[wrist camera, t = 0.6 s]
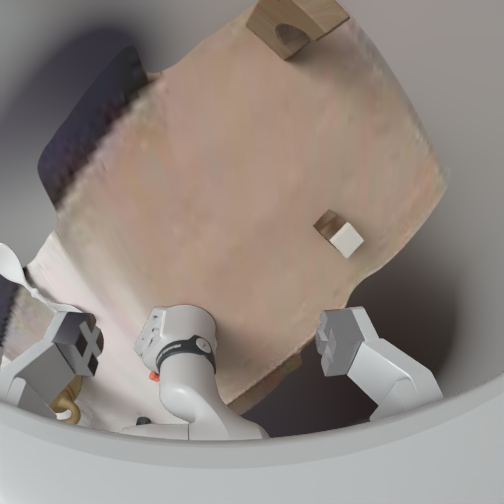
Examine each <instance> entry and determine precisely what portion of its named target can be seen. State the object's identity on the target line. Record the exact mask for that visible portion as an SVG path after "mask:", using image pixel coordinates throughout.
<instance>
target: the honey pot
mask: <svg viewBox="0 0 504 504" xmlns="http://www.w3.org/2000/svg"><path fill="white" fill-rule="evenodd" d="M74 403H75V404H77V406H78V407H79V409H80V412H81V418H80V421H79V422H78V424H77V425H80V426H84V427H89V428H90V427H91V423H92V418H93V411H92V410H91V408H90V407H89V406H87V405H86V404H85V403H83V402H81V401H79V400H77V399H76V400H75V401H74ZM56 415H57V419H59V420H63V419H68V418H69V417H70V416H71V411H70V410H69V409H68V410H67V411H65V412H63V413H56Z"/></svg>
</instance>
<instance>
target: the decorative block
mask: <svg viewBox="0 0 504 504" xmlns="http://www.w3.org/2000/svg"><path fill="white" fill-rule="evenodd" d="M349 19H350V16H349V15H348V14H347V13H346V12H345V11H344V9H343V8H342V7H341V6H340V5H339V4H338V3H337V2H336V1H335V0H259V1H258V3H257V4H256V6H255V8H254V9H253V11H252V13H251V15H250V17H249V18H248V20H247V22H246V26H247V27H248V28H249V29H250V30H251V31H253V32H254V33H255V34H256V35H257V36H258V37H259V38H260V39H262V40H263V41H264V42H265V43H266V44H267V45H268V46H269V47H270V48H271V49H273V50H274V51H275V52H276V53H277V54H278V55H279V56H280V57H281V58H282V59H283V60H287V59H289V58H290V57H292V56H293V55H295V54H296V53H297V52H298V51H299V50H301V49H302V48H303V47H304V46H306V45H307V44H308V43H310V39H309V38H308V37H307V36H306V34H307V35H308V36H309V37H311V38H312V39H313V40H316V41H318V40H319V39H321V38H323V37H324V36H326V35H328V34H329V33H331V32H332V31H333V30H335V29H336V28H337V27H339V26H340V25H342V24H343V23H344V22H346V21H347V20H349ZM304 32H305V33H306V34H305V33H304Z"/></svg>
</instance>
